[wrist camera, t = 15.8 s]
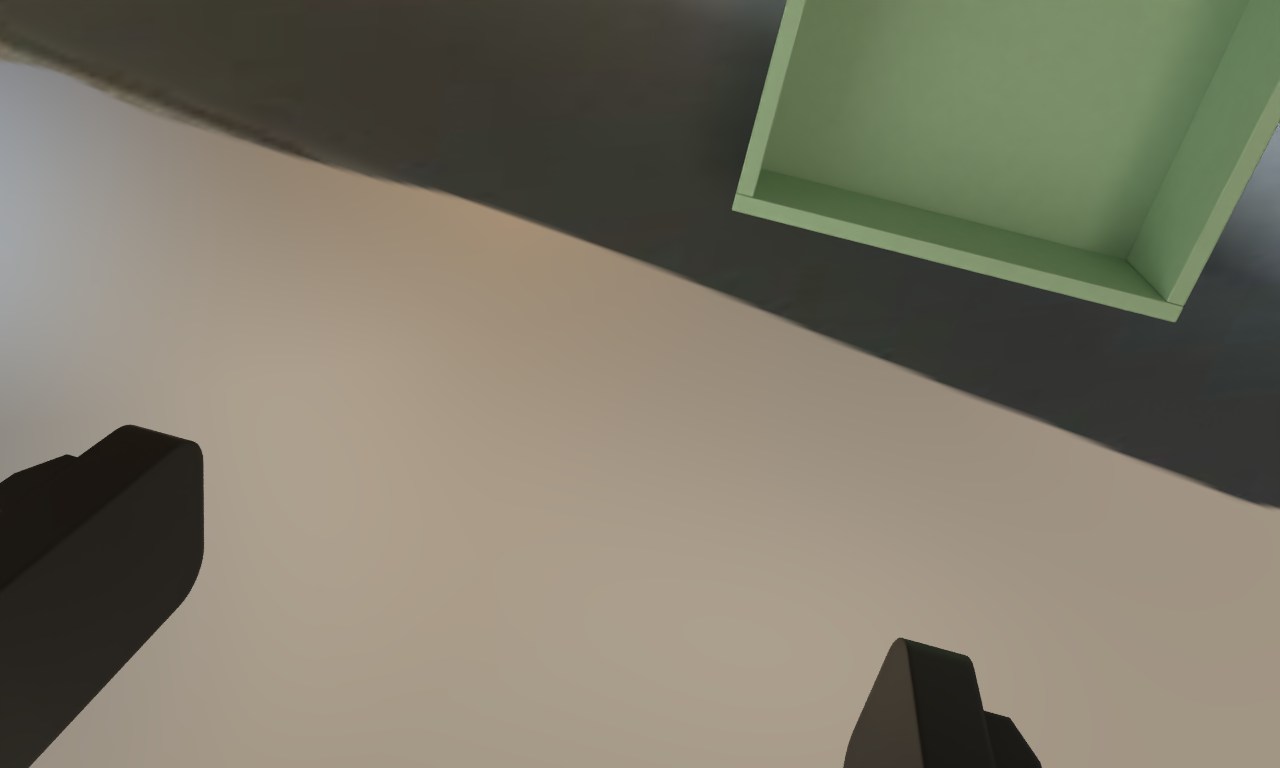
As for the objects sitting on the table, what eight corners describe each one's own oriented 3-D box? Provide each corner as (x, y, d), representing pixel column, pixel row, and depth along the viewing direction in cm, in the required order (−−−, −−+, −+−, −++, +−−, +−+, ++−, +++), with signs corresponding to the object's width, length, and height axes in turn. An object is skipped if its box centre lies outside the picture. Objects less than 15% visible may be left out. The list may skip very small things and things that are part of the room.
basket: (844, -219, 30) (850, -245, 26) (1316, -111, 30) (1405, -119, 25) (740, 176, 36) (731, 210, 32) (1130, 275, 36) (1176, 323, 31)
